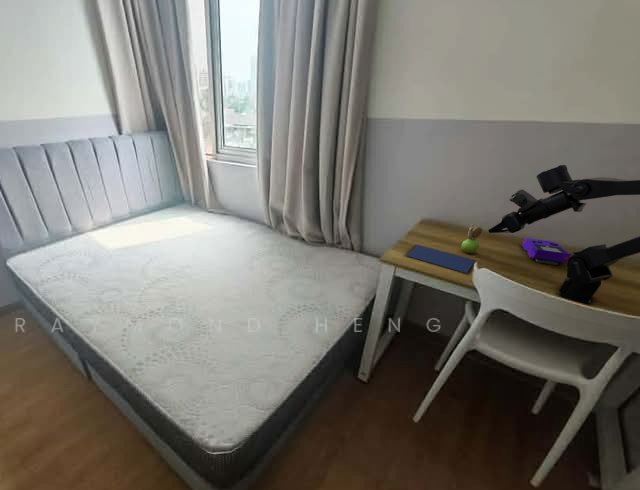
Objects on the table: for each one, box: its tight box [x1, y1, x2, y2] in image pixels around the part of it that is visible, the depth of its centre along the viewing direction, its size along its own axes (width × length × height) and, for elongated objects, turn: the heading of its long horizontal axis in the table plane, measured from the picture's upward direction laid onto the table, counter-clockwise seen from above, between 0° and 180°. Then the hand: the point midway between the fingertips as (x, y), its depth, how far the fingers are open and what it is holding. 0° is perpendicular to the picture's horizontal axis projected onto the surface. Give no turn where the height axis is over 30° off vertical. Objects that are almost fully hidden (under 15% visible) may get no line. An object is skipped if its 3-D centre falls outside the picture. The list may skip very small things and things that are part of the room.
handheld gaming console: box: [522, 237, 572, 266], centre depth 115 cm, size 9×5×15 cm
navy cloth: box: [406, 245, 476, 275], centre depth 116 cm, size 20×12×1 cm, turn 46°
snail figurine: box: [460, 223, 483, 254], centre depth 116 cm, size 5×6×12 cm
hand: (494, 228), depth 109 cm, fingers open, 9 cm apart
